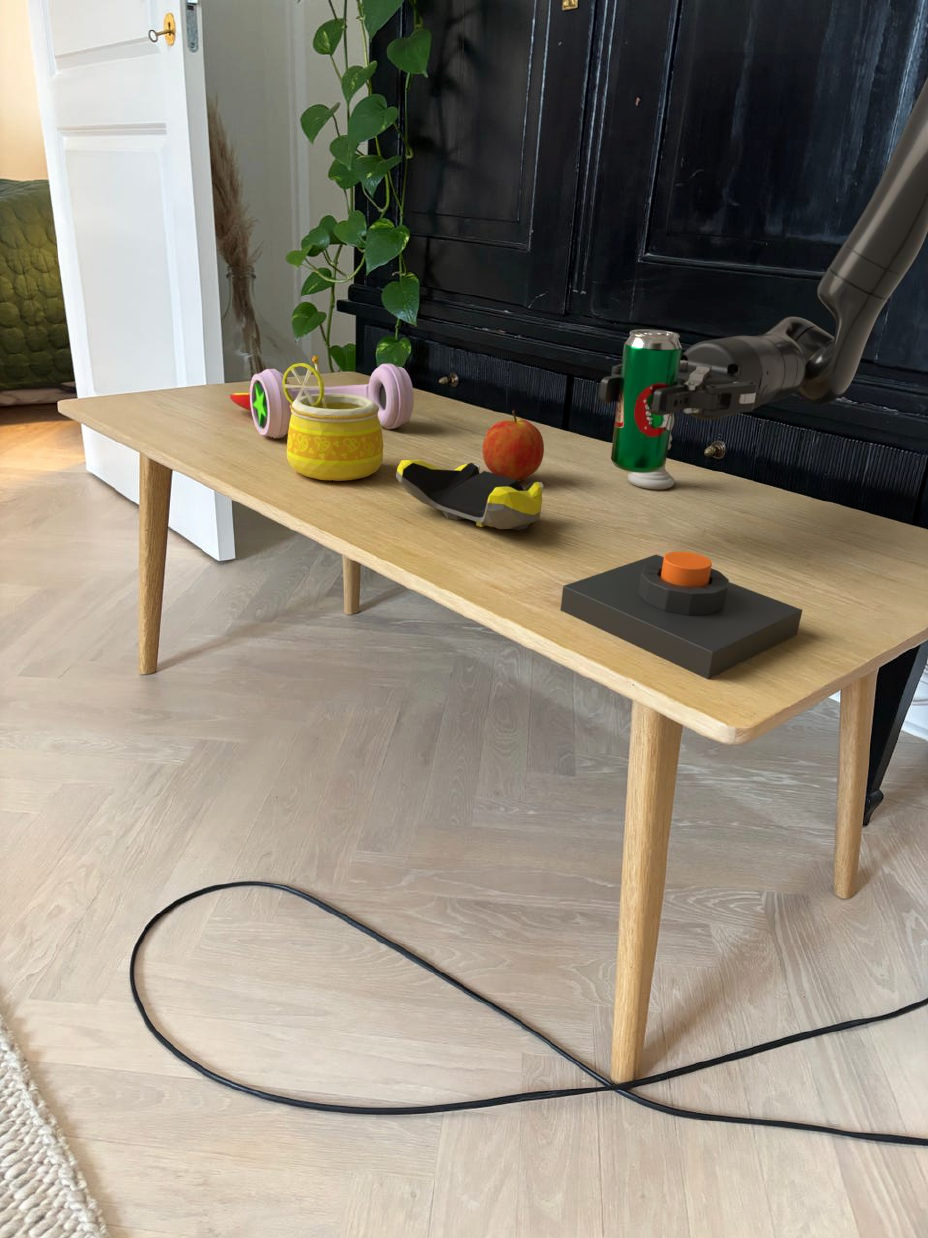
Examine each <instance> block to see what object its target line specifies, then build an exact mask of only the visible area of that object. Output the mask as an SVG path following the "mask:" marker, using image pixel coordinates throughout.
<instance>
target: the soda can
mask: <svg viewBox="0 0 928 1238" xmlns="http://www.w3.org/2000/svg"><path fill="white" fill-rule="evenodd" d="M680 337H681V336H680V334H679V333H677V332H673V331H667V330H662V329H661V330H660V329H644V328H643V329H633V330H630V331H629V336H628V338H627V339H626V341H624V343H623V349H622V358H621V364H622V365H621V374H620V383H619V391H618V400H617V401H616V409H615V417H614V426H613V435H612V443H611V453H610V460H611V462H612V463H613V465H614V466H615V467H616V468H618V469H620V470H621V471H625V472H629V473H631V472H636V473H652V472H656V471H658V470H660V469H661V468H662V467H663V466H664V465H665V466H666V463H667V457H668V451H669V449H668V444H669V437H670V435H671V431H672V430H671V423H672V416H673V415H674V413H670V414H666V415H662V416H659V415H655V414H653V413H652V404H653V397H654V392H655V391H656V389H659V388H664V387H669V386H674V385H677V382H678V375H679V368H680V361H681V356H682V355H683V346H682V344H681V343H680V340H679V339H680ZM670 430H671V431H670Z"/></svg>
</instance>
